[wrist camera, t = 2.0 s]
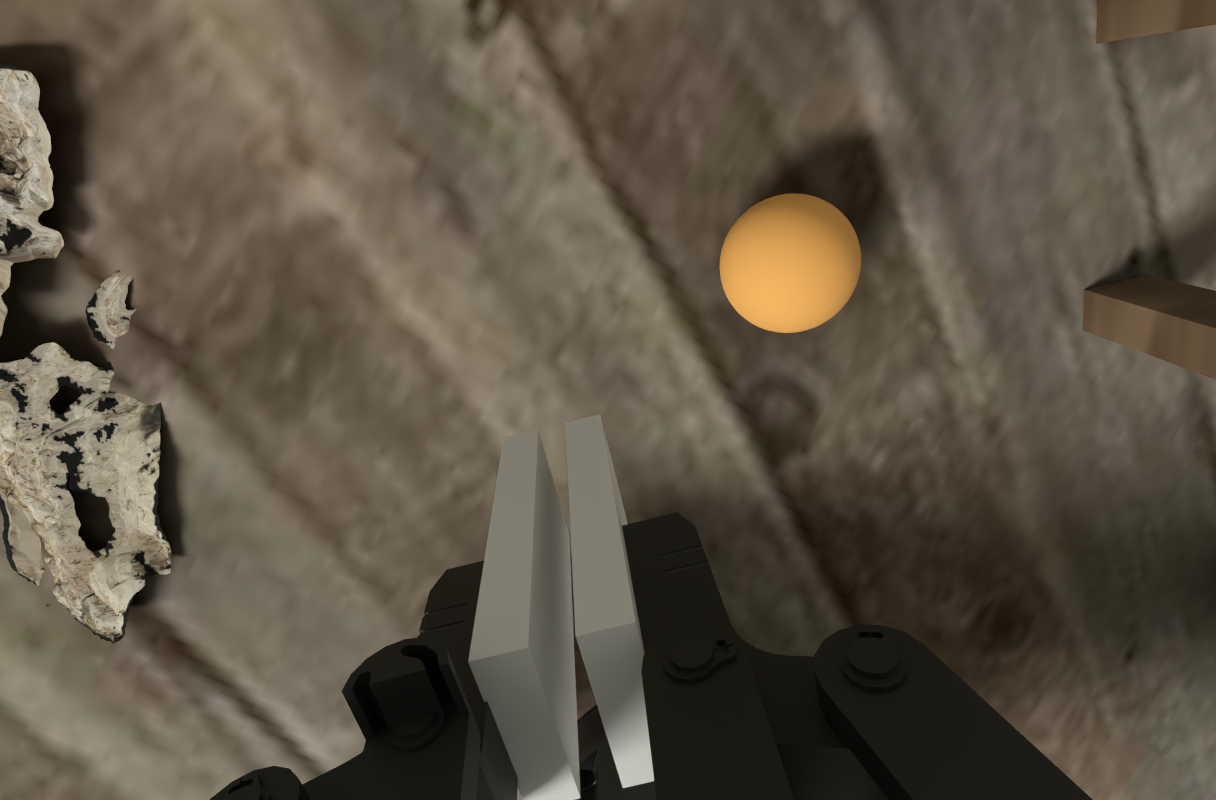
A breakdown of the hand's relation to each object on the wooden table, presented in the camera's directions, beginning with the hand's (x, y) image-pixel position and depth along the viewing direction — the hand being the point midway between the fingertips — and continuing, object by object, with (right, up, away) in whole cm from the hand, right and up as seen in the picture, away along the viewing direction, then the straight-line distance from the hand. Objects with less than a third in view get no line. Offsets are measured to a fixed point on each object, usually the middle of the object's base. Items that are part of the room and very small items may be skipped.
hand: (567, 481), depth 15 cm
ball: (+8, +7, +13) cm, 17 cm away
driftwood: (-23, +3, +15) cm, 28 cm away
